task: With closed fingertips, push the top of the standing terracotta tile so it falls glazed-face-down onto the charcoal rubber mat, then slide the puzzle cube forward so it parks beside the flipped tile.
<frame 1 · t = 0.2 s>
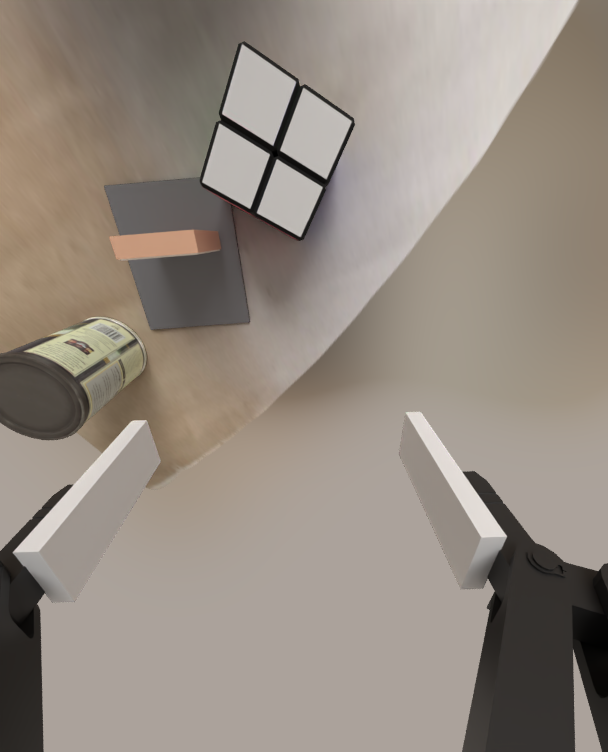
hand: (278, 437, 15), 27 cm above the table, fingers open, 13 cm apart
coffee can: (112, 350, 42), on the table
mat: (185, 260, 36), on the table
puzzle cube: (278, 176, 32), on the table, touching mat
tile: (187, 242, 35), resting on mat
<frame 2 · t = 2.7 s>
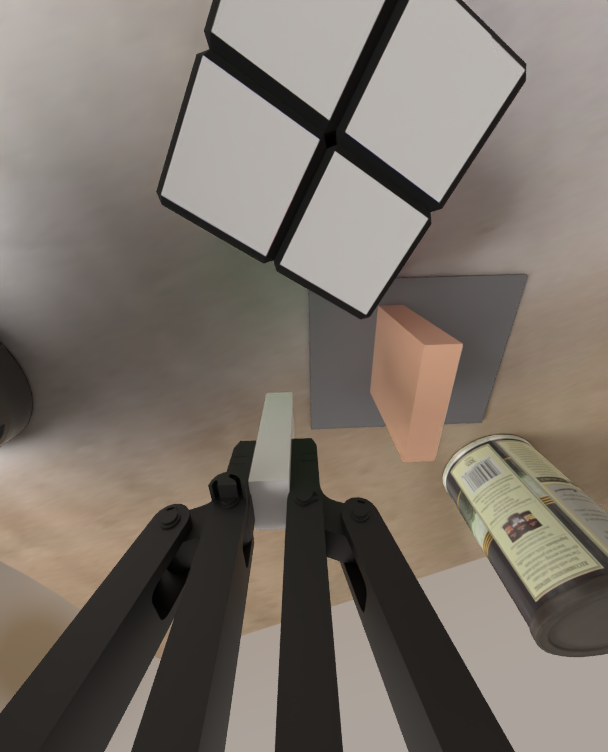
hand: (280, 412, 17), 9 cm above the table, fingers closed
coffee can: (487, 468, 32), on the table
mat: (405, 359, 25), on the table
puzzle cube: (314, 188, 19), on the table, touching mat
tile: (385, 351, 24), resting on mat
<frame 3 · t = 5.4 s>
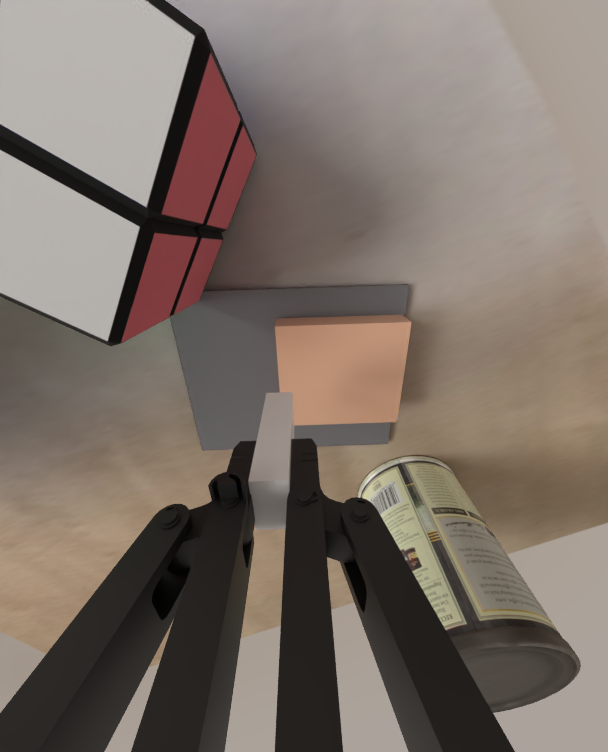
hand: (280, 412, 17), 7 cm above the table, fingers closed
coffee can: (406, 490, 29), on the table
mat: (291, 376, 23), on the table
puzzle cube: (150, 190, 17), on the table, touching mat
tile: (279, 374, 21), point 2 cm above the table, tilted 90°, touching mat
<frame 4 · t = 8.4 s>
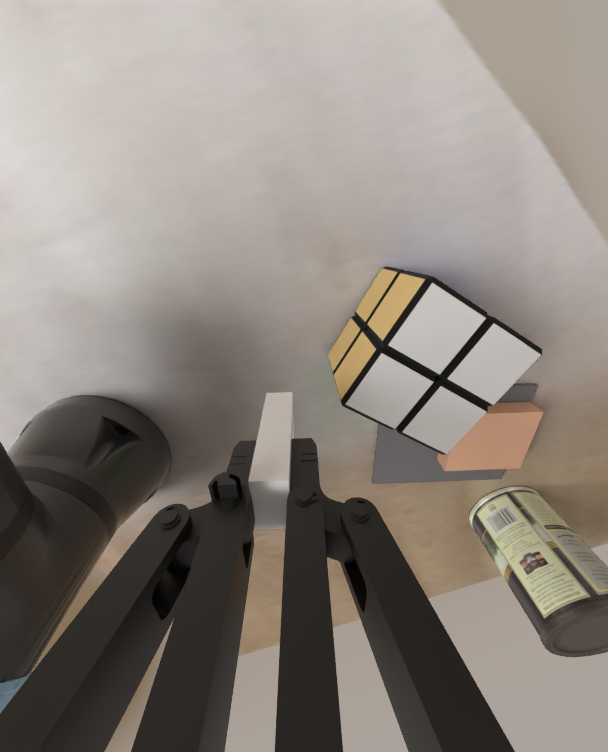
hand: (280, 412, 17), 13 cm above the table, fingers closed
coffee can: (504, 509, 41), on the table
mat: (446, 436, 34), on the table
puzzle cube: (393, 336, 28), on the table, touching mat
tile: (447, 438, 32), point 2 cm above the table, tilted 90°, touching mat
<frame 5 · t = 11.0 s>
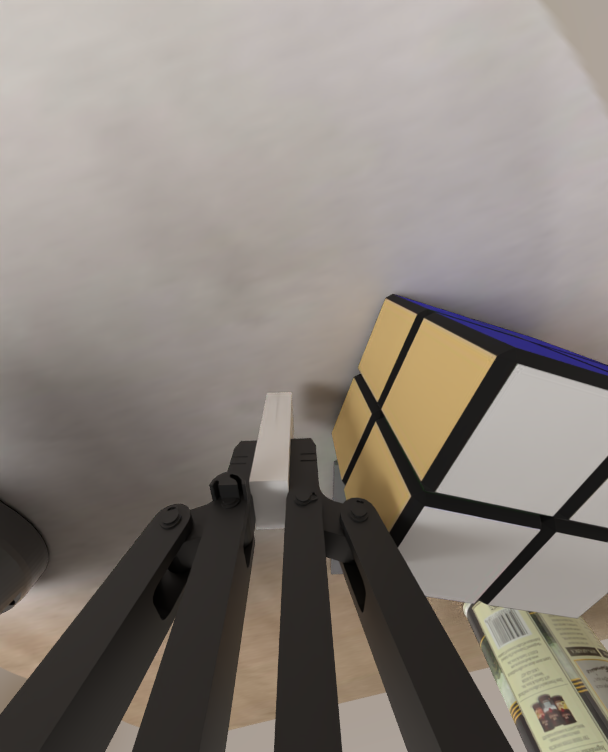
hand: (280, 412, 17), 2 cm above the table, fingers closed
coffee can: (508, 597, 31), on the table
mat: (429, 518, 25), on the table
puzzle cube: (424, 387, 19), on the table, touching hand
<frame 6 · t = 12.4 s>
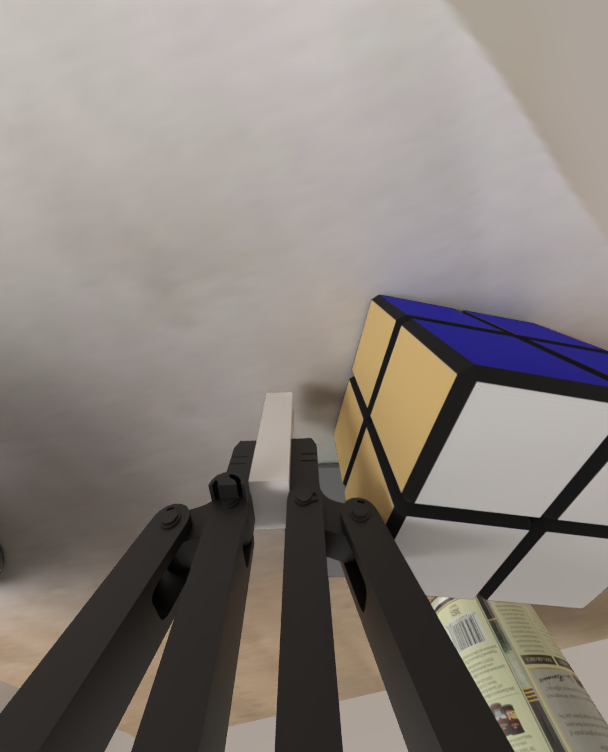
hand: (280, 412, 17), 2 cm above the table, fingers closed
coffee can: (474, 602, 31), on the table
mat: (384, 523, 24), on the table
puzzle cube: (422, 382, 18), on the table
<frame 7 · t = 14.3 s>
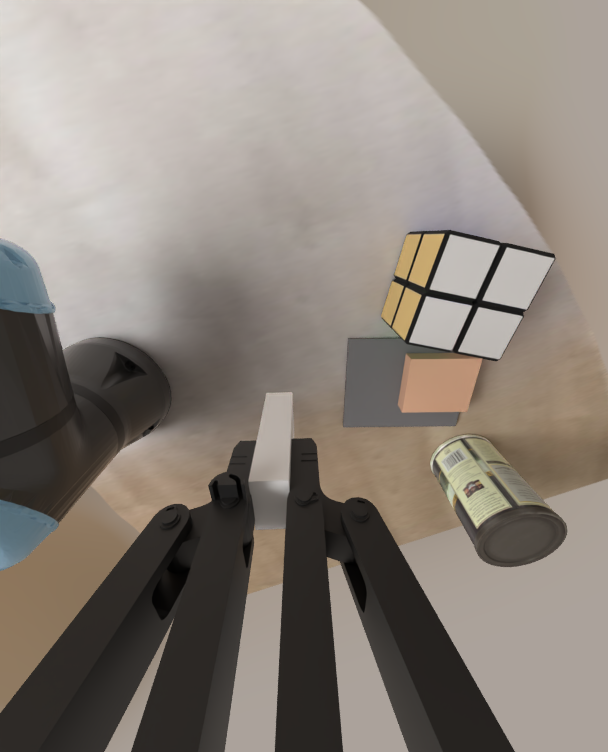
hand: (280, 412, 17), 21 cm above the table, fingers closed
coffee can: (461, 457, 46), on the table
mat: (405, 384, 40), on the table
puzzle cube: (431, 285, 34), on the table
tile: (403, 383, 38), point 2 cm above the table, tilted 90°, touching mat
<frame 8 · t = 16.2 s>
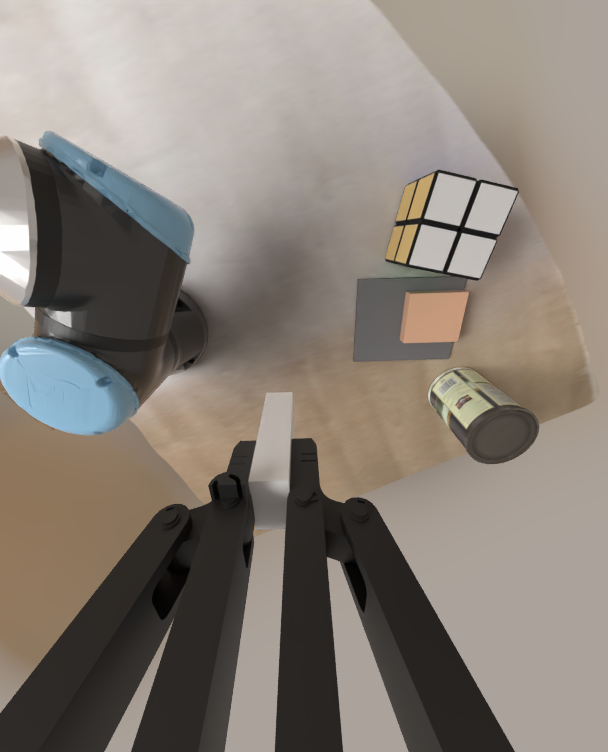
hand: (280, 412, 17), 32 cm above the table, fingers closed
coffee can: (454, 390, 54), on the table
mat: (405, 321, 48), on the table
puzzle cube: (425, 231, 42), on the table
tile: (404, 317, 46), point 2 cm above the table, tilted 90°, touching mat
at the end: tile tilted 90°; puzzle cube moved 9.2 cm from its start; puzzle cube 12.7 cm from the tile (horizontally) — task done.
